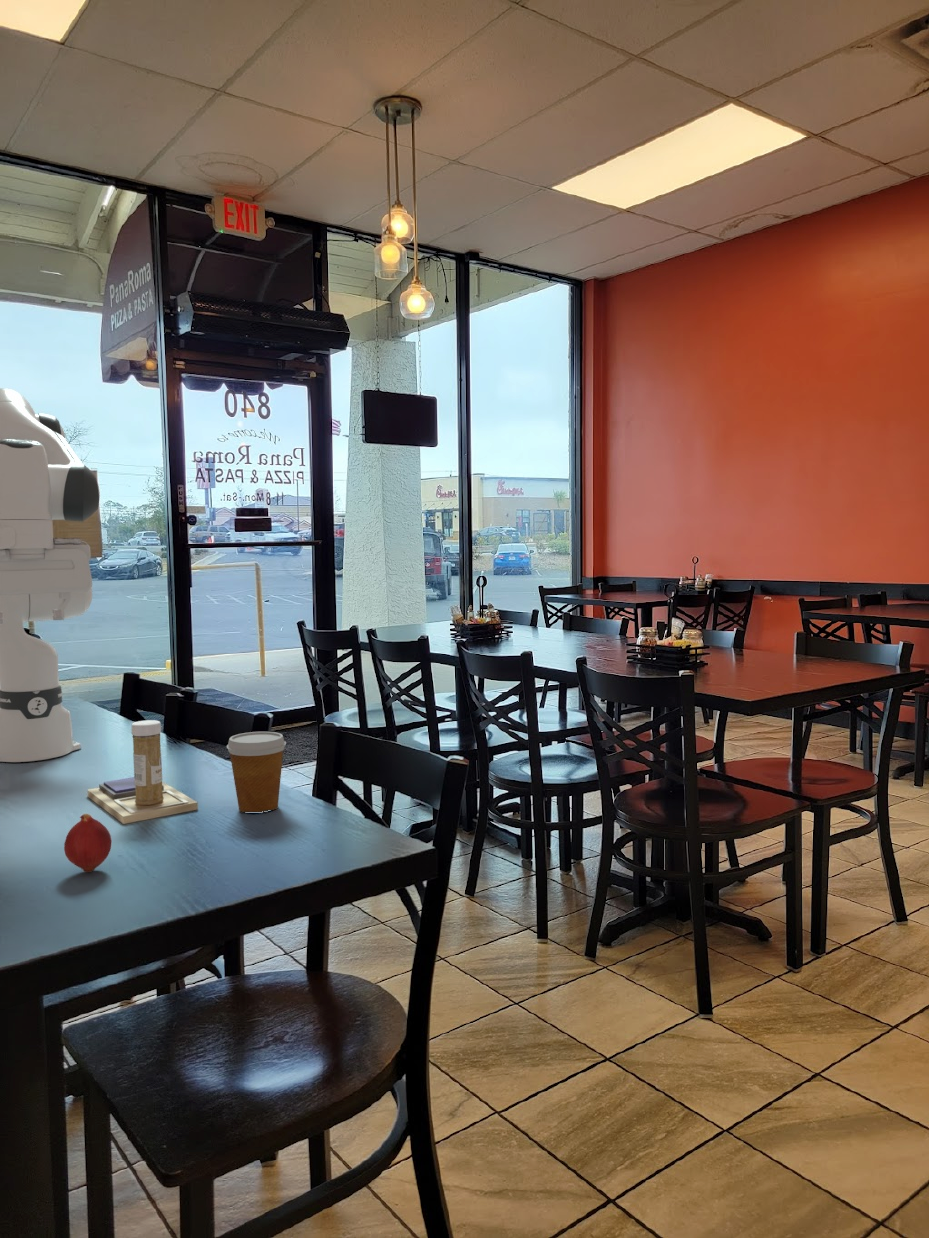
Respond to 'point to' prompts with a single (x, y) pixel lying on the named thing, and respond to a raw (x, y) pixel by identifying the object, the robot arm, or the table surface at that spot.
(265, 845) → the table surface
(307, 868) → the table surface
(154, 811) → the stamp station
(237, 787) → the disposable coffee cup
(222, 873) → the table surface
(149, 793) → the sprinkles bottle
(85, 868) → the onion
